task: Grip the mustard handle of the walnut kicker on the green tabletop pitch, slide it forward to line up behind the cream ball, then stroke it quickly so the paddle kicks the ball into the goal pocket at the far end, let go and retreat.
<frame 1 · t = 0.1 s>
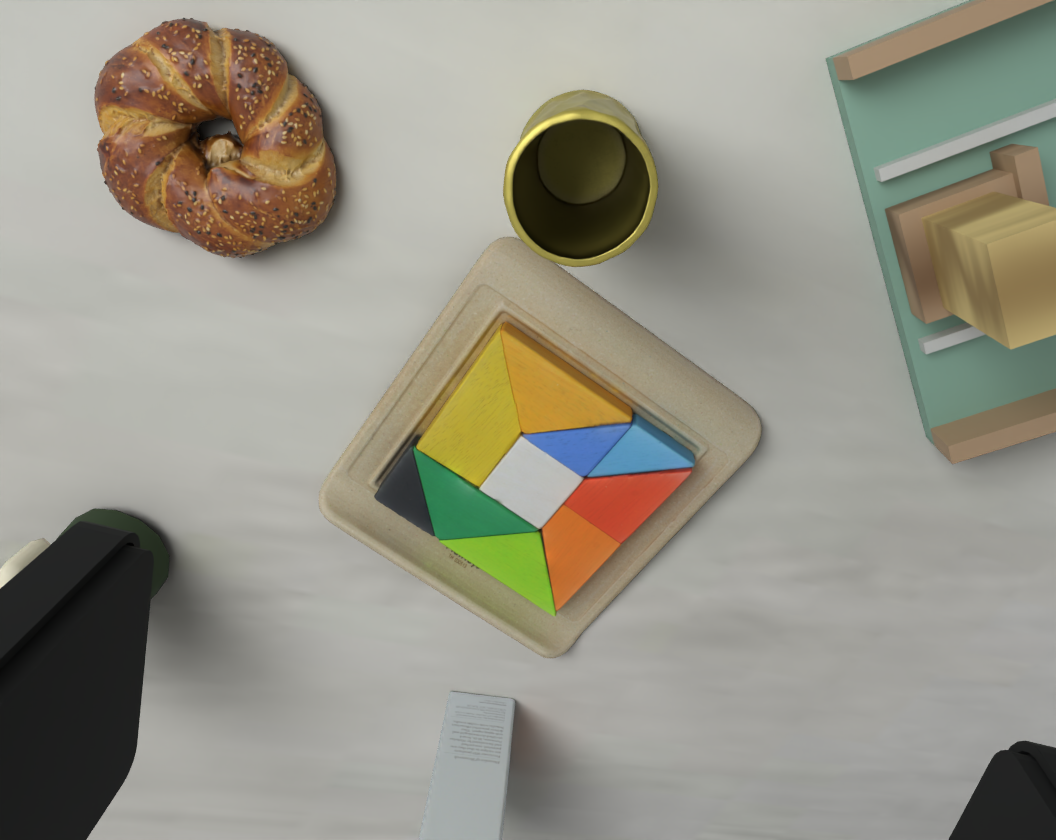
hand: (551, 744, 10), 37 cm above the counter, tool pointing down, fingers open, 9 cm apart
kicker: (1003, 256, 38), point 6 cm above the counter, slide at 0.0 cm
skincare box: (479, 728, 56), on the counter
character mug: (123, 548, 53), on the counter
wooden puzzle: (534, 454, 50), on the counter
vase: (581, 157, 43), on the counter
sesame bagel: (231, 142, 44), on the counter
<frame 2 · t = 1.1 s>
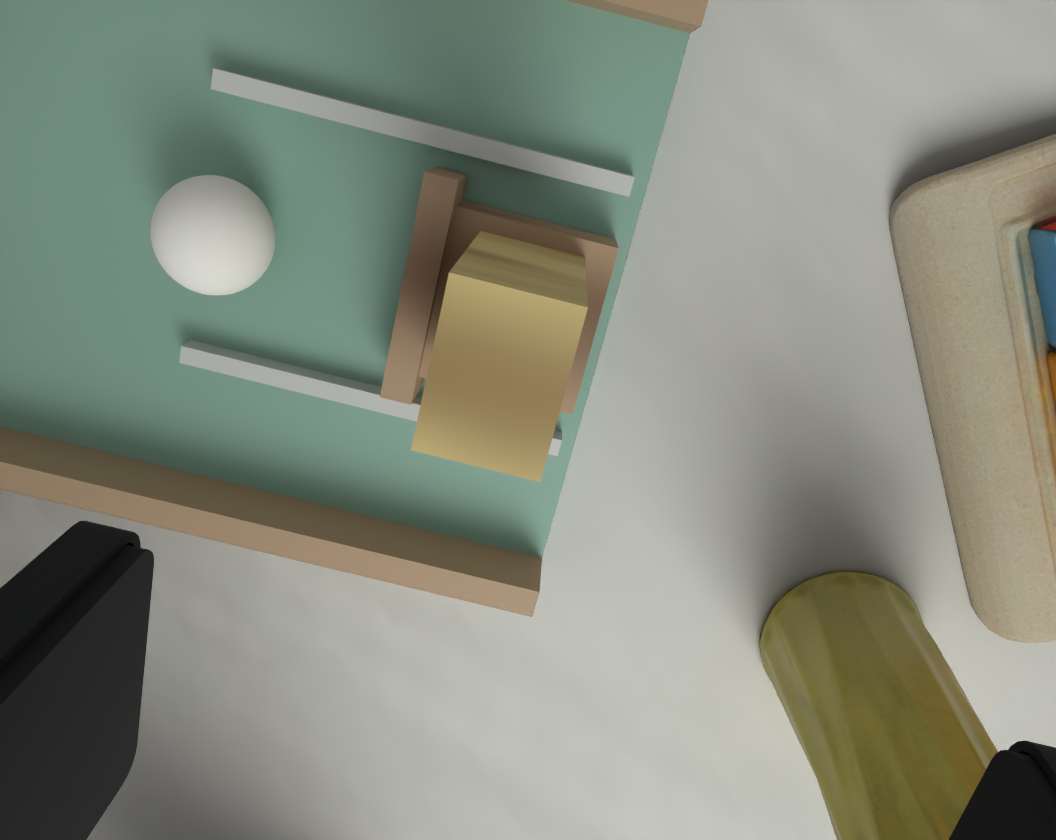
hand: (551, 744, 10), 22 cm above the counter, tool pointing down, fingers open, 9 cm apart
kicker: (492, 329, 25), point 6 cm above the counter, slide at 0.0 cm
ball: (235, 228, 29), point 1 cm above the counter, touching pitch
vase: (838, 636, 34), on the counter
pitch: (204, 212, 30), on the counter
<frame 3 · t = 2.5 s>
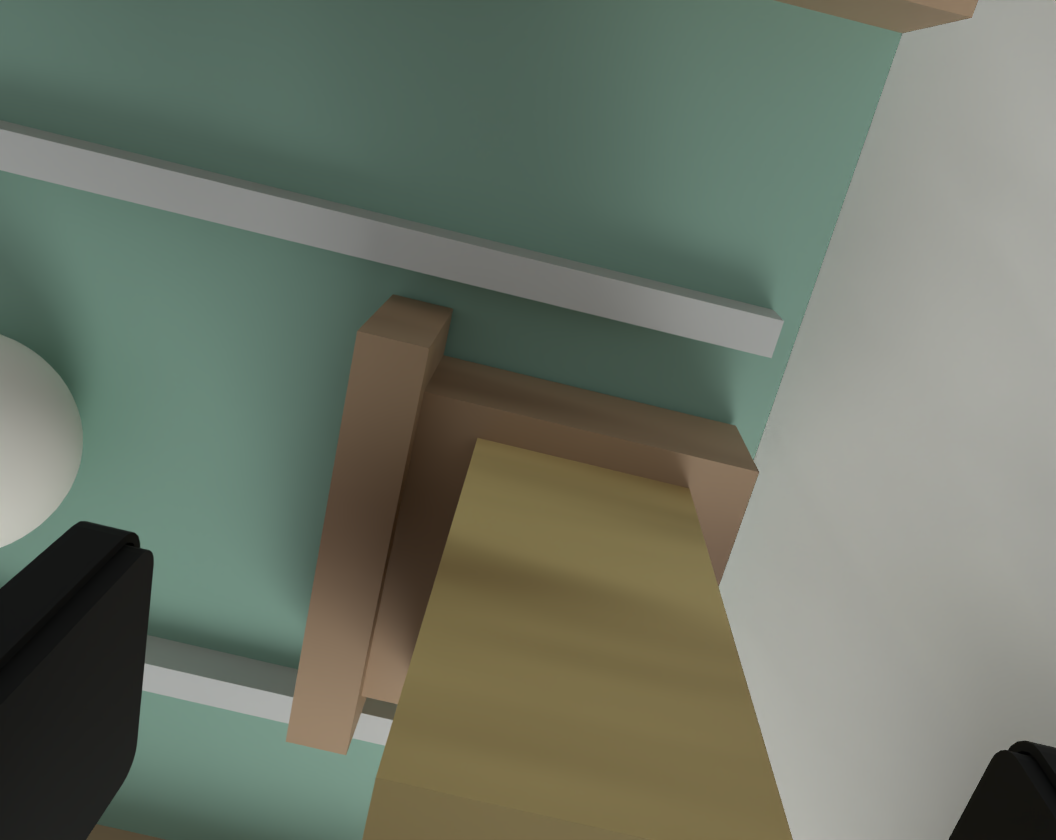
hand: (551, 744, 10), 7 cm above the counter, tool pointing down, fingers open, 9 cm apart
kicker: (504, 681, 11), point 6 cm above the counter, slide at 0.0 cm
ball: (21, 404, 16), point 1 cm above the counter, touching pitch
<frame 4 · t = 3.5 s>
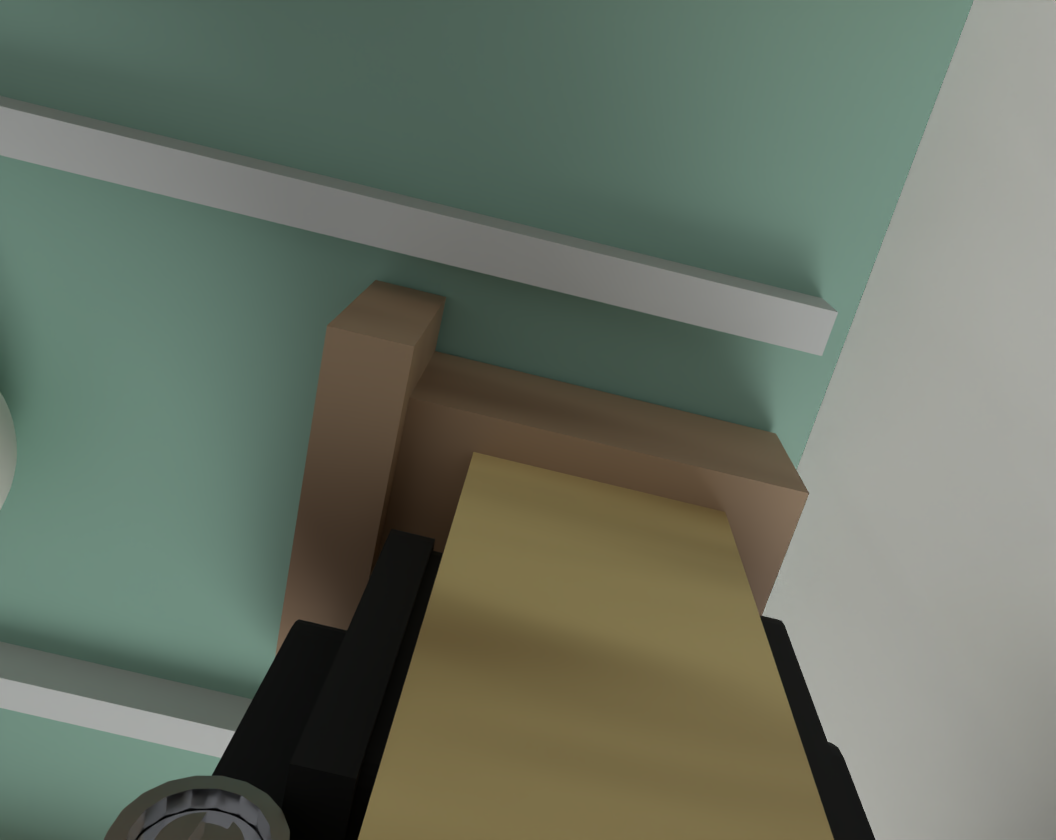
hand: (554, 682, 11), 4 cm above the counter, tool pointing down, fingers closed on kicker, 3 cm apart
kicker: (504, 753, 9), point 6 cm above the counter, slide at 0.0 cm, touching gripper
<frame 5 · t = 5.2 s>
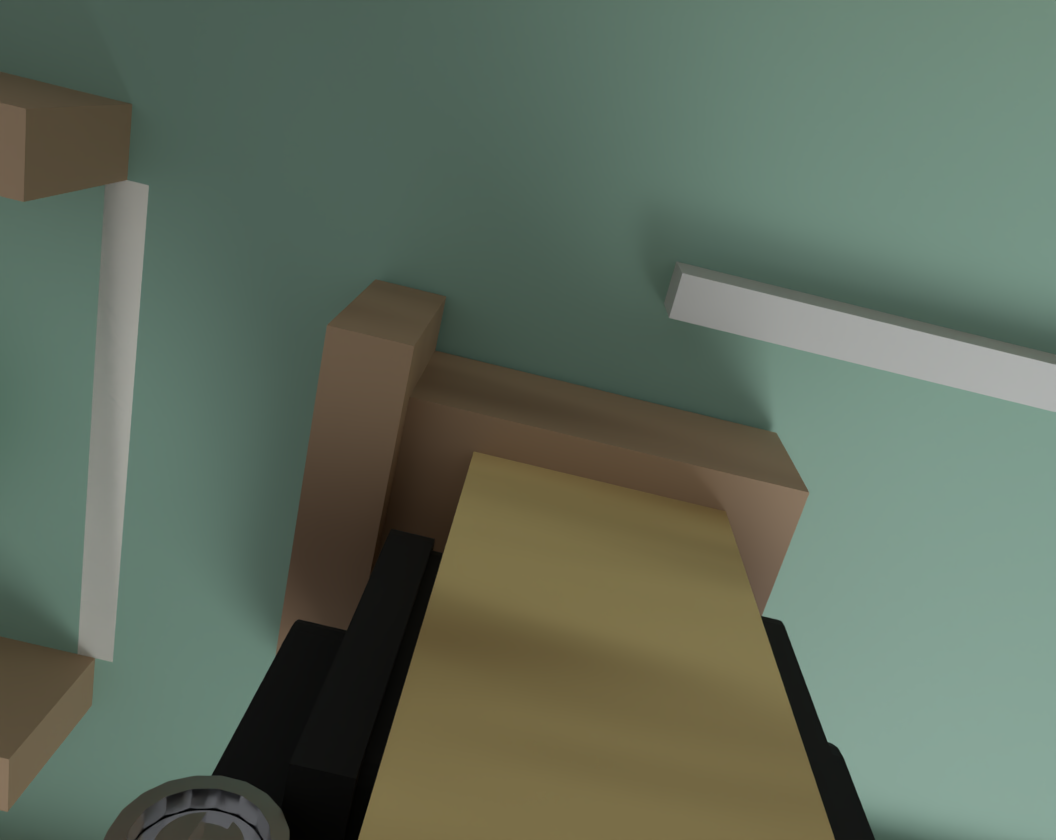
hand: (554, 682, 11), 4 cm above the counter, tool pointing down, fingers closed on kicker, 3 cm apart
kicker: (505, 752, 9), point 6 cm above the counter, slide at 10.9 cm, touching gripper
pitch: (559, 514, 15), on the counter
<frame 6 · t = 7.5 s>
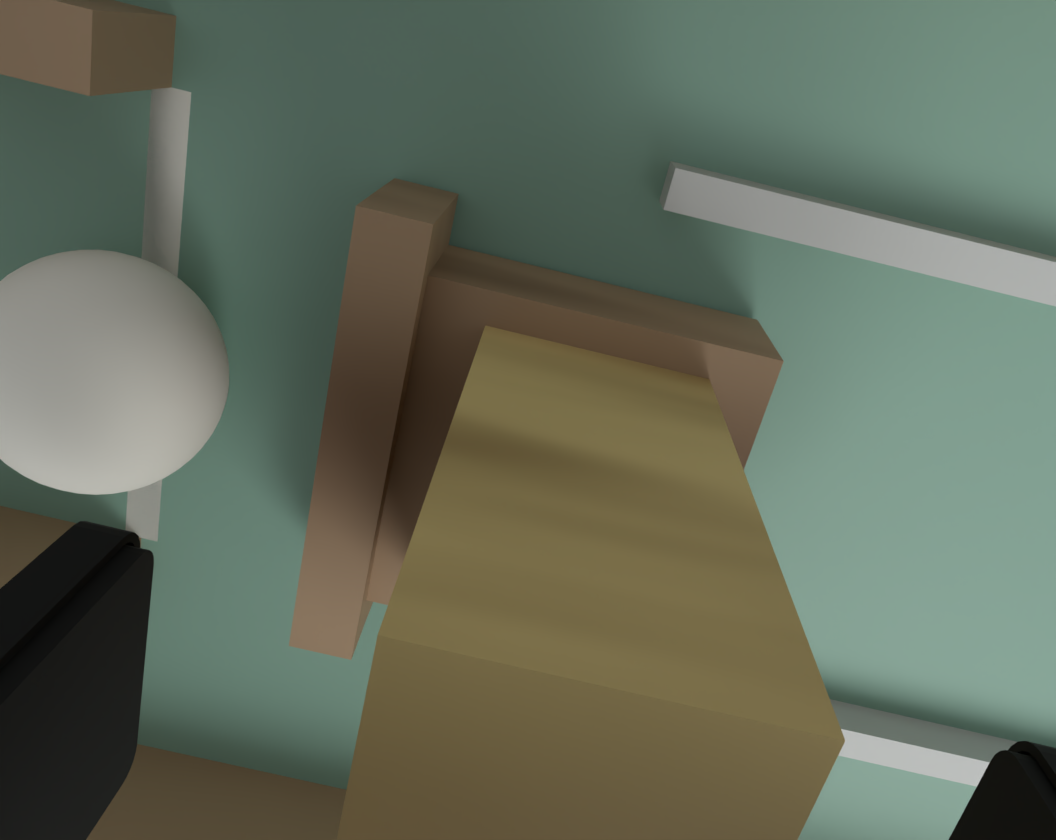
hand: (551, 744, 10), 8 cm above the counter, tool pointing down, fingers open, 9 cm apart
kicker: (515, 574, 11), point 6 cm above the counter, slide at 11.0 cm
pitch: (563, 406, 16), on the counter
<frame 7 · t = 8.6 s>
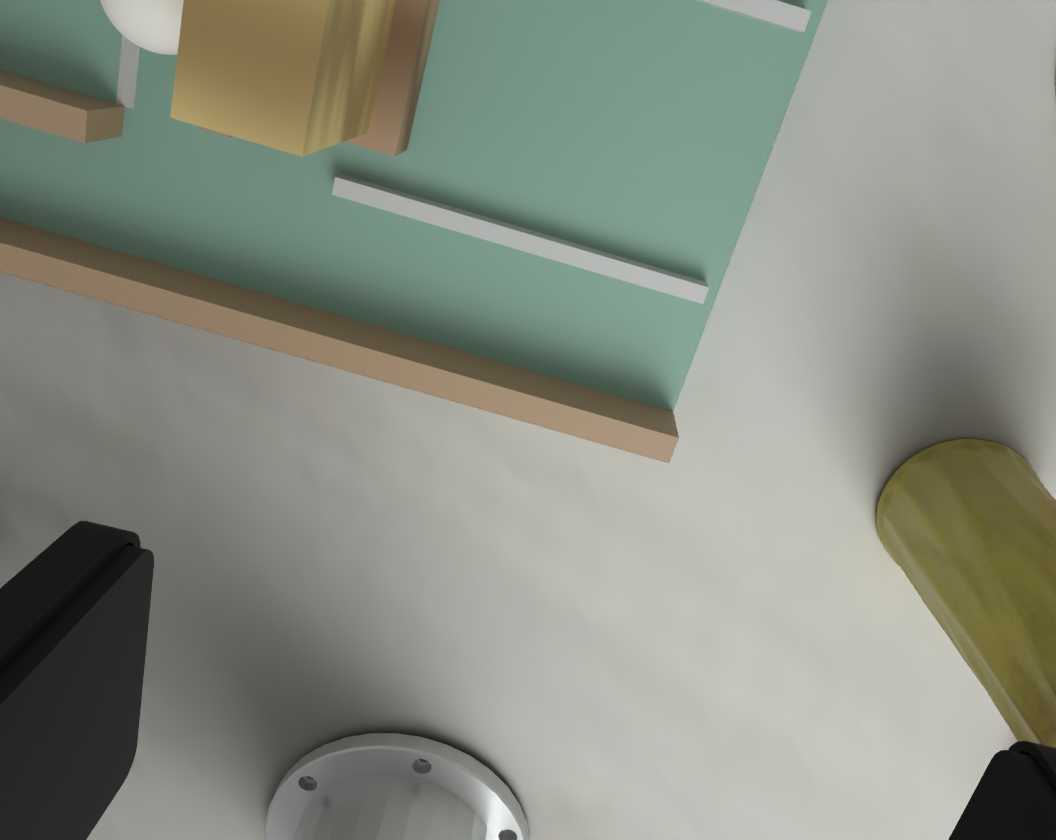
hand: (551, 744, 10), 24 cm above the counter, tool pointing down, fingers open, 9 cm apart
kicker: (290, 36, 24), point 6 cm above the counter, slide at 11.0 cm
vase: (953, 505, 35), on the counter
pitch: (359, 43, 30), on the counter
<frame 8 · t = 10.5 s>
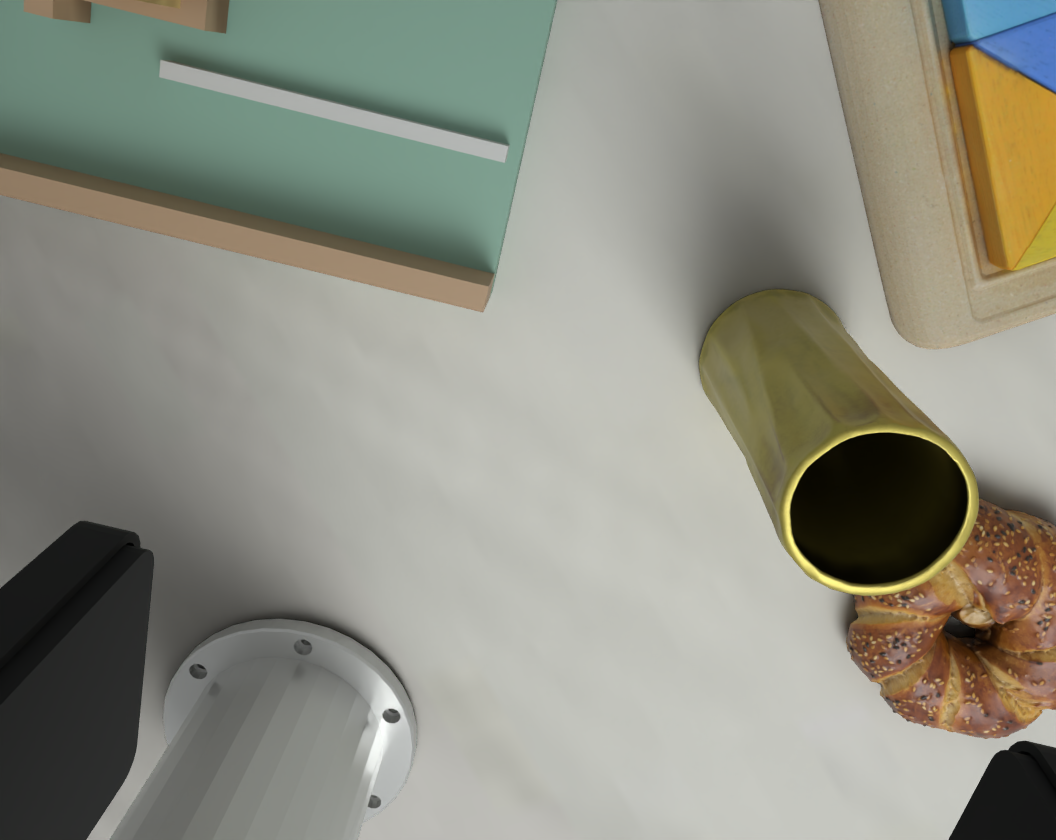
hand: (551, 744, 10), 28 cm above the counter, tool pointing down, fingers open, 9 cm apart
vase: (771, 358, 37), on the counter
sesame bagel: (957, 599, 41), on the counter
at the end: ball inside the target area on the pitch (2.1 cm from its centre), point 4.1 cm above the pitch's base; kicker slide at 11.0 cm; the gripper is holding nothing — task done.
